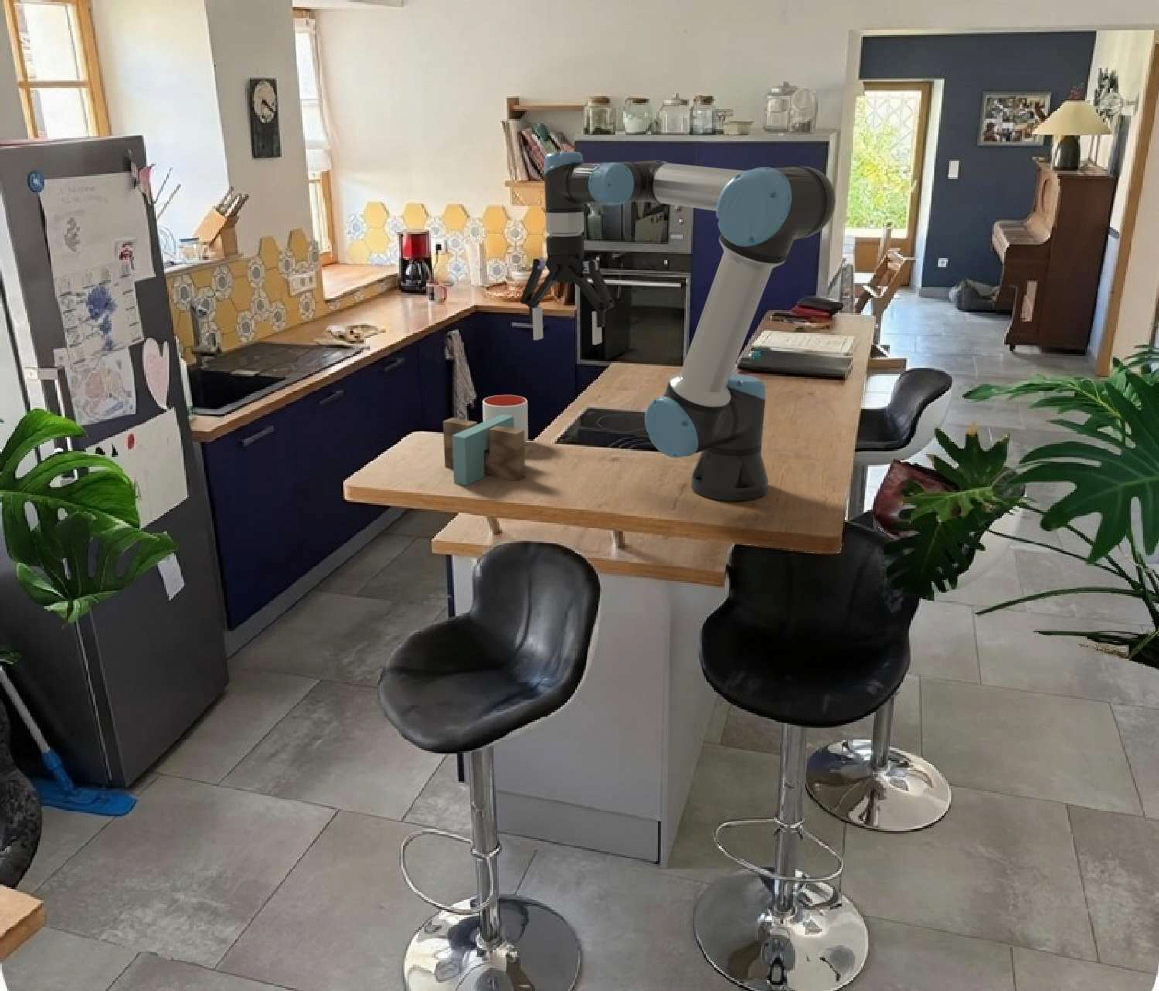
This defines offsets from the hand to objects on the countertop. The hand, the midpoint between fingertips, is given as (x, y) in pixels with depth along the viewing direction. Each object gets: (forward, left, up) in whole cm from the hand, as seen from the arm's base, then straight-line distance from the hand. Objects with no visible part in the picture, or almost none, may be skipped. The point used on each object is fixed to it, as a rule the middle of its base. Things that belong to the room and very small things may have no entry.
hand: (567, 341), depth 208 cm
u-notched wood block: (+12, +13, -26) cm, 32 cm away
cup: (+19, -6, -27) cm, 34 cm away
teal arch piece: (+12, +13, -26) cm, 32 cm away
